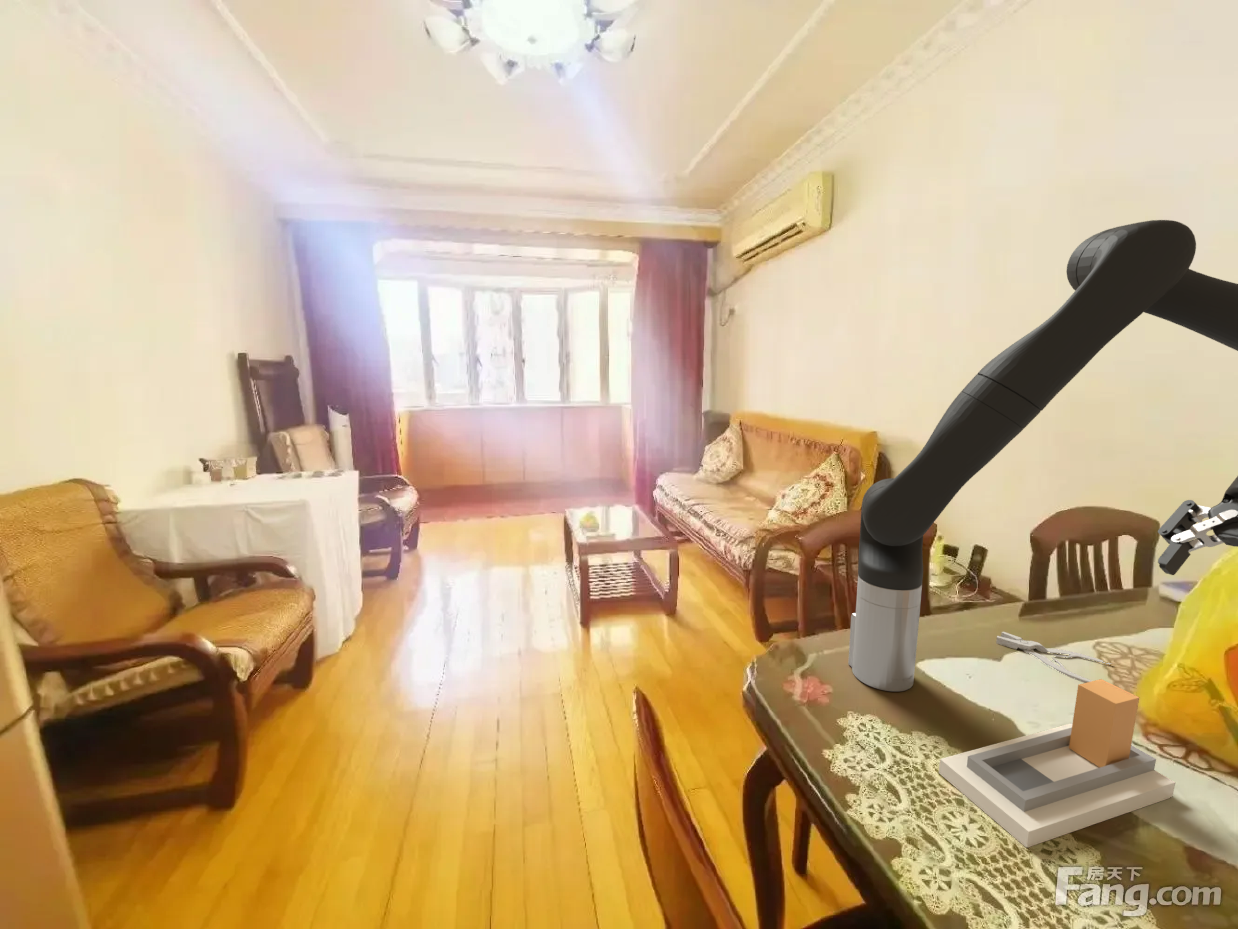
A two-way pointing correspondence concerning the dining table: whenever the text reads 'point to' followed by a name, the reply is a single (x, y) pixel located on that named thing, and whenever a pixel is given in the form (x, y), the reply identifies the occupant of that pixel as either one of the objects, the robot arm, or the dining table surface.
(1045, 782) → the switch board
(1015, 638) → the pliers
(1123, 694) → the switch tab
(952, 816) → the dining table surface
